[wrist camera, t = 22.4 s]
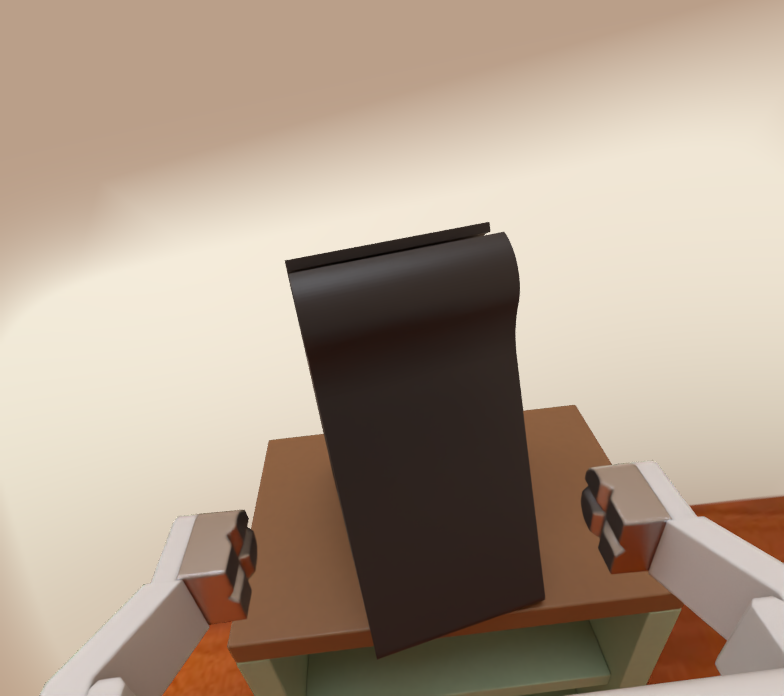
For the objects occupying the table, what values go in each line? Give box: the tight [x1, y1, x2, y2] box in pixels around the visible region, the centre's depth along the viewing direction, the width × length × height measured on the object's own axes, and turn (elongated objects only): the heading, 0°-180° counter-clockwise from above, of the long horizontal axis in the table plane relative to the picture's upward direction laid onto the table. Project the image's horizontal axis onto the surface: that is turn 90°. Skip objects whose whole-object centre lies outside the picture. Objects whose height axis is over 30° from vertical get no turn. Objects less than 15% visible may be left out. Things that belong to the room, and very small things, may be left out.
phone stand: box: [285, 222, 545, 660], centre depth 16 cm, size 9×6×12 cm, turn 16°
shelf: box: [227, 405, 684, 696], centre depth 24 cm, size 16×10×15 cm, turn 94°
